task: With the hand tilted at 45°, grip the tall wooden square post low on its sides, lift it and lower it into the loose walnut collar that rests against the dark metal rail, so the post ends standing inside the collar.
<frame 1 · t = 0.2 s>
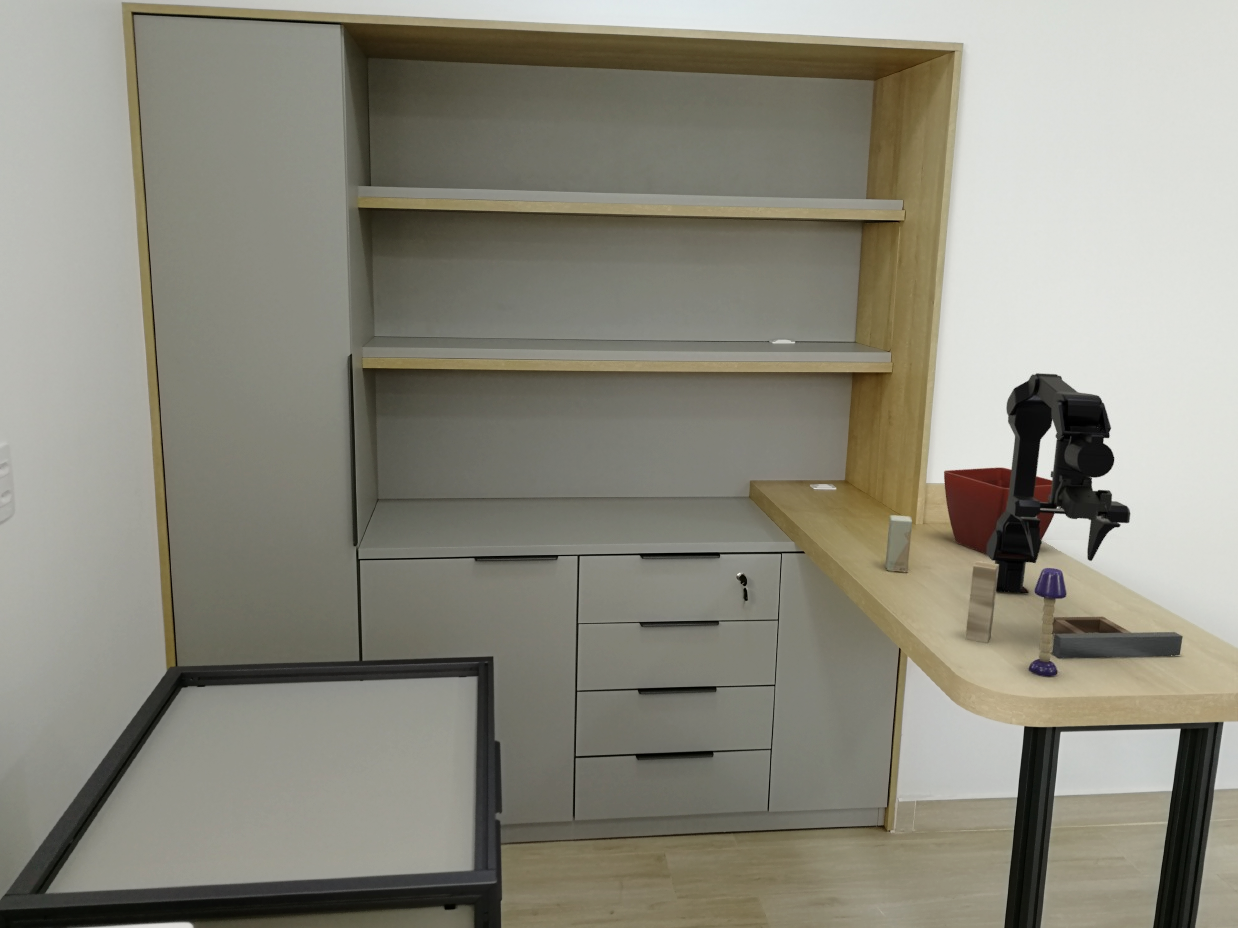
hand: (1061, 558, 176), 14 cm above the table, tool pointing down, fingers open, 9 cm apart
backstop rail: (1115, 654, 172), on the table
wooden square post: (978, 637, 177), on the table
toy lamp: (1041, 671, 163), on the table
plant pot: (995, 549, 237), on the table
box: (896, 569, 217), on the table
collar: (1092, 640, 178), on the table
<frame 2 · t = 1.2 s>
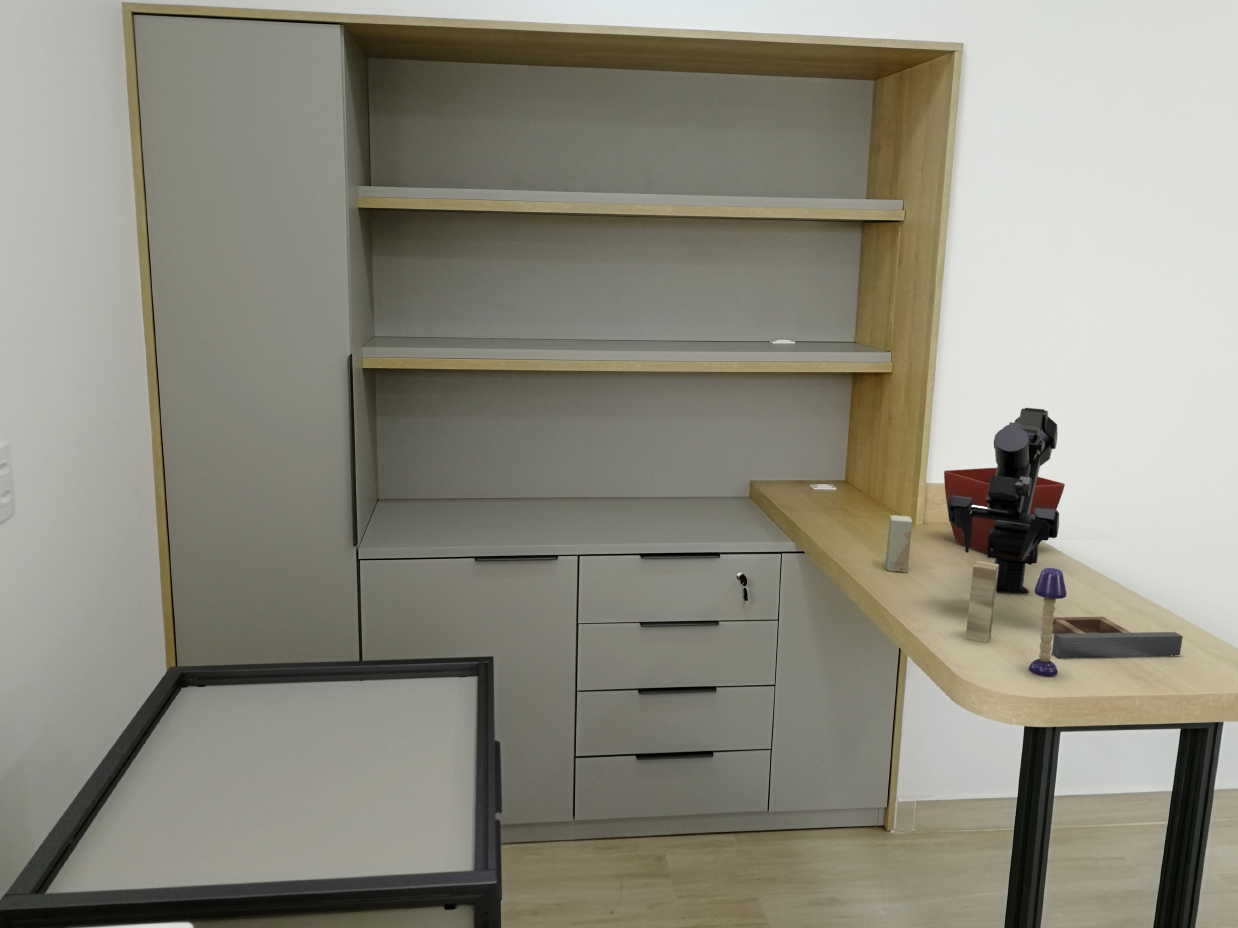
hand: (993, 555, 182), 13 cm above the table, tool tilted 45°, fingers open, 9 cm apart
nothing on the table moved.
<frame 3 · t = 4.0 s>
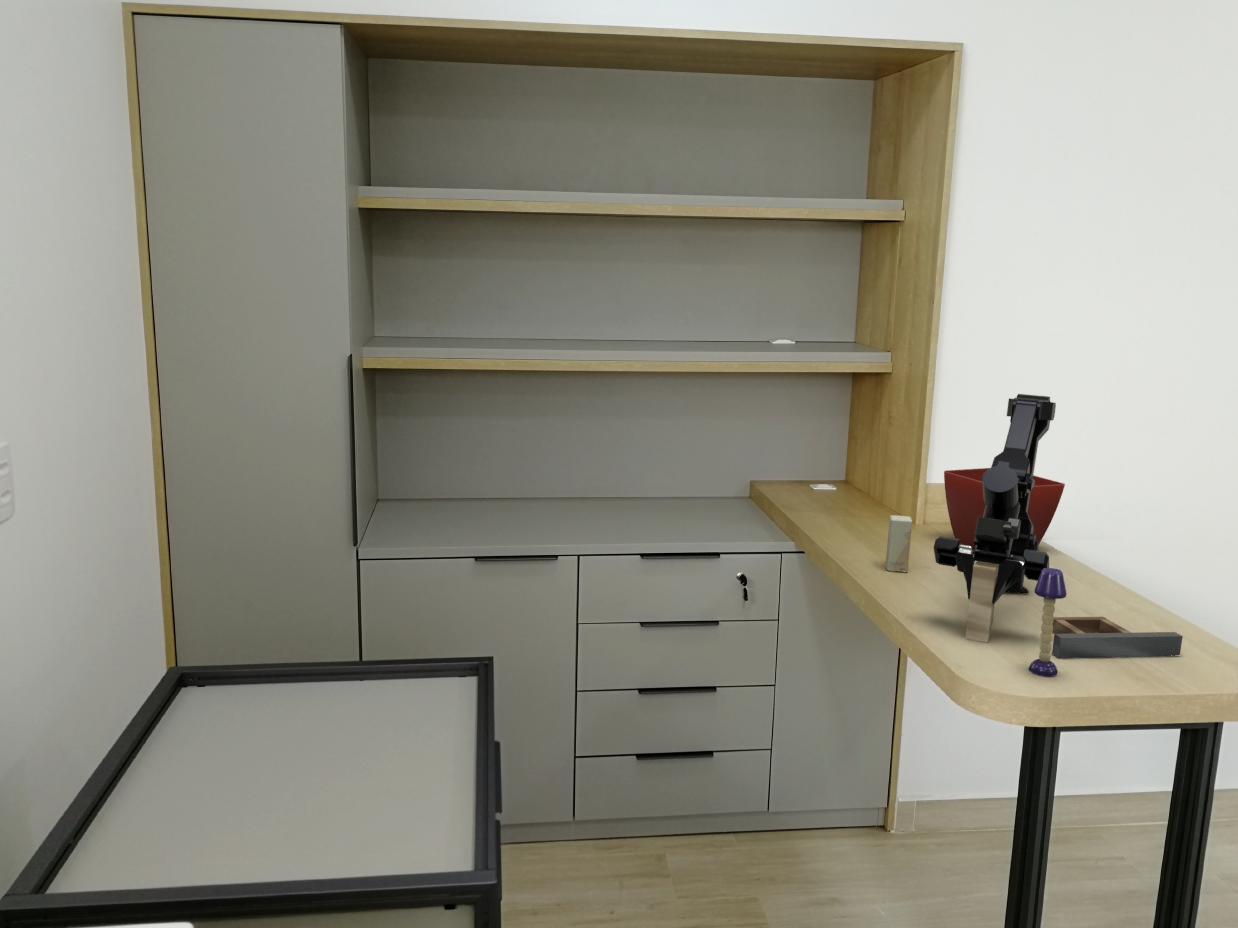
hand: (981, 600, 175), 7 cm above the table, tool tilted 45°, fingers closed on wooden square post, 4 cm apart
wooden square post: (978, 637, 177), on the table, touching gripper
everything else where it was.
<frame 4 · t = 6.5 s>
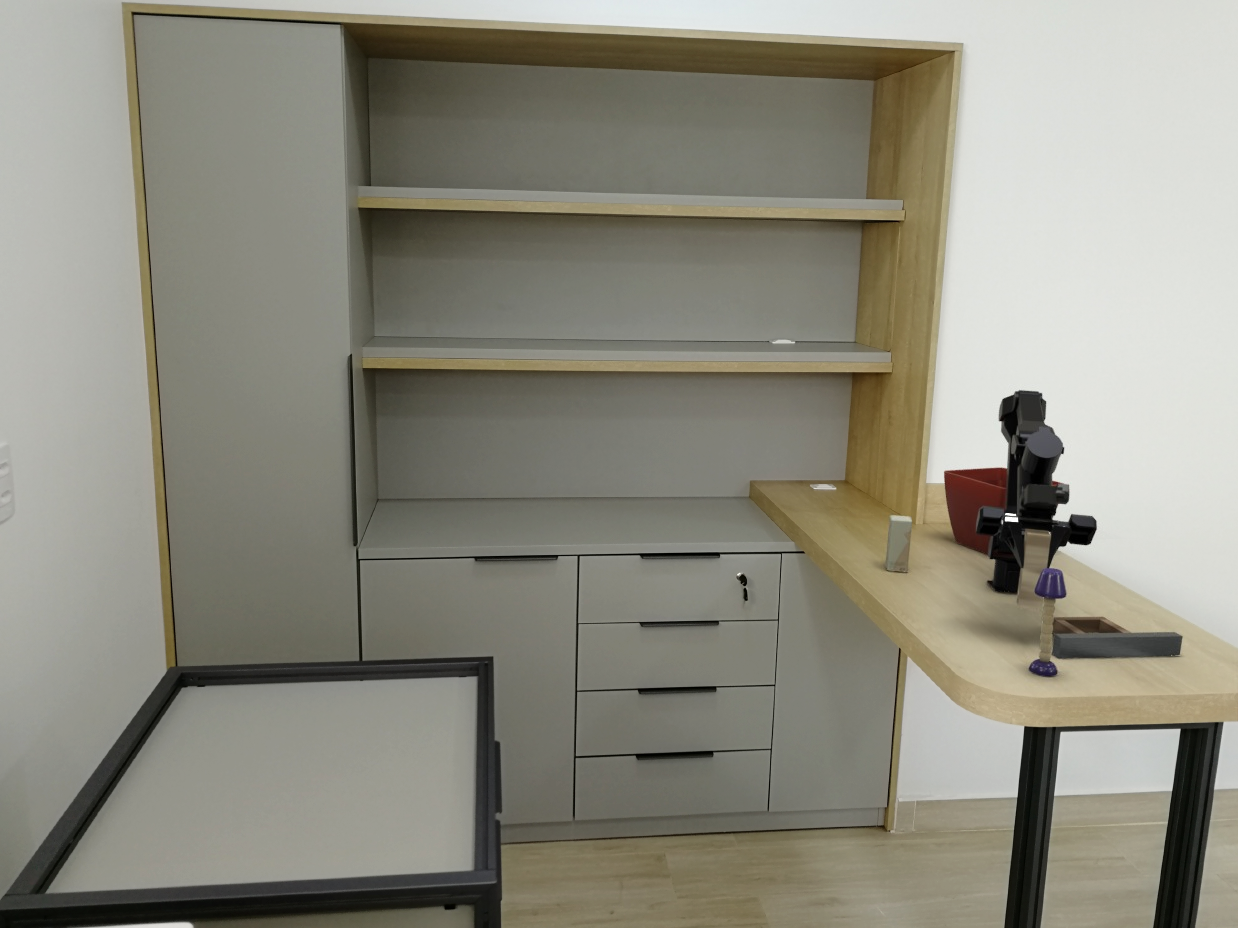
hand: (1034, 568, 172), 13 cm above the table, tool tilted 45°, fingers closed on wooden square post, 4 cm apart
wooden square post: (1028, 606, 175), point 6 cm above the table, touching gripper
everything else where it was.
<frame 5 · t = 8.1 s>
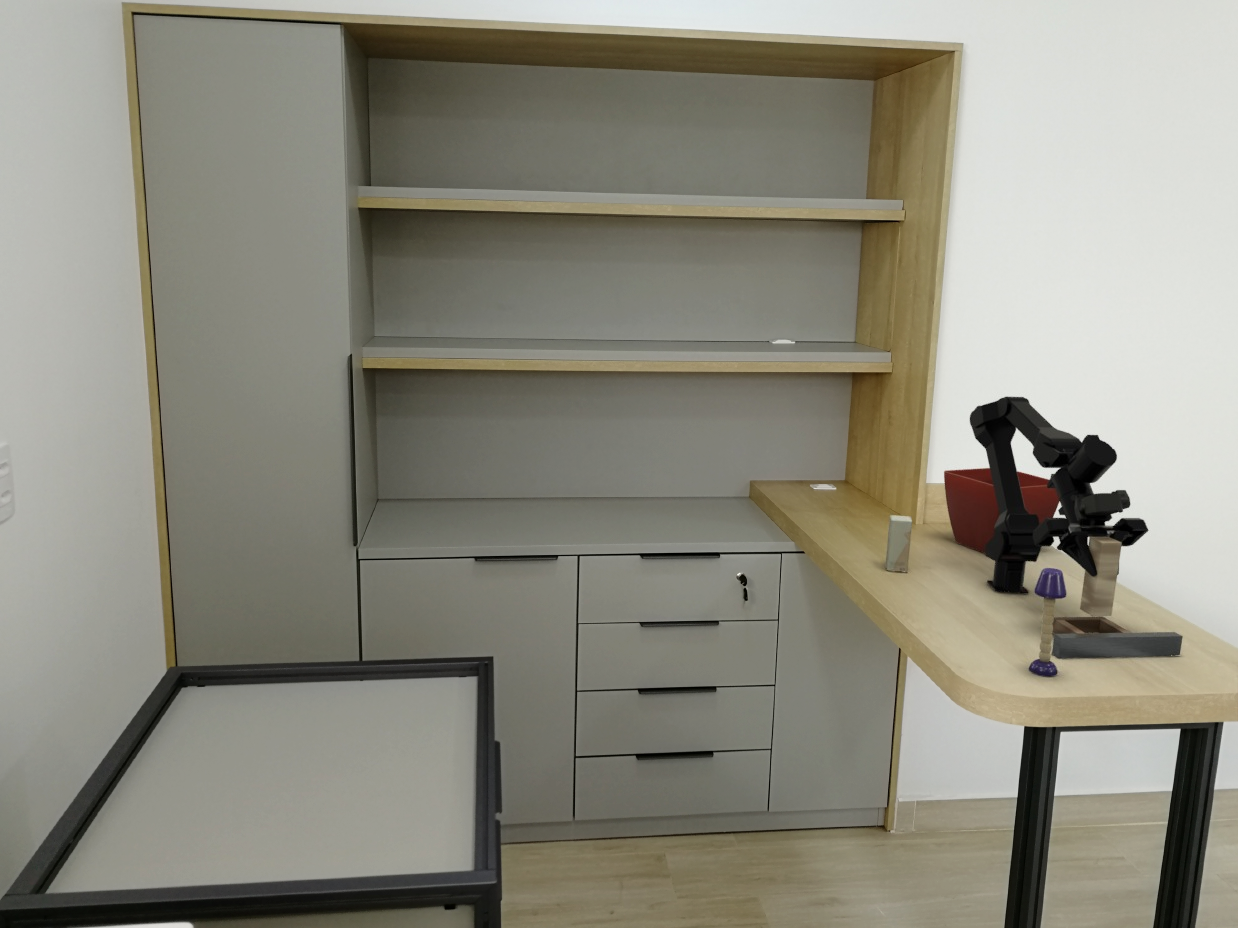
hand: (1105, 575, 175), 12 cm above the table, tool tilted 45°, fingers closed on wooden square post, 4 cm apart
wooden square post: (1095, 612, 177), point 5 cm above the table, touching gripper
everything else where it was.
when the fingers open (8 cm above the table, at t = 9.2 s): wooden square post stays where it is, resting in collar.
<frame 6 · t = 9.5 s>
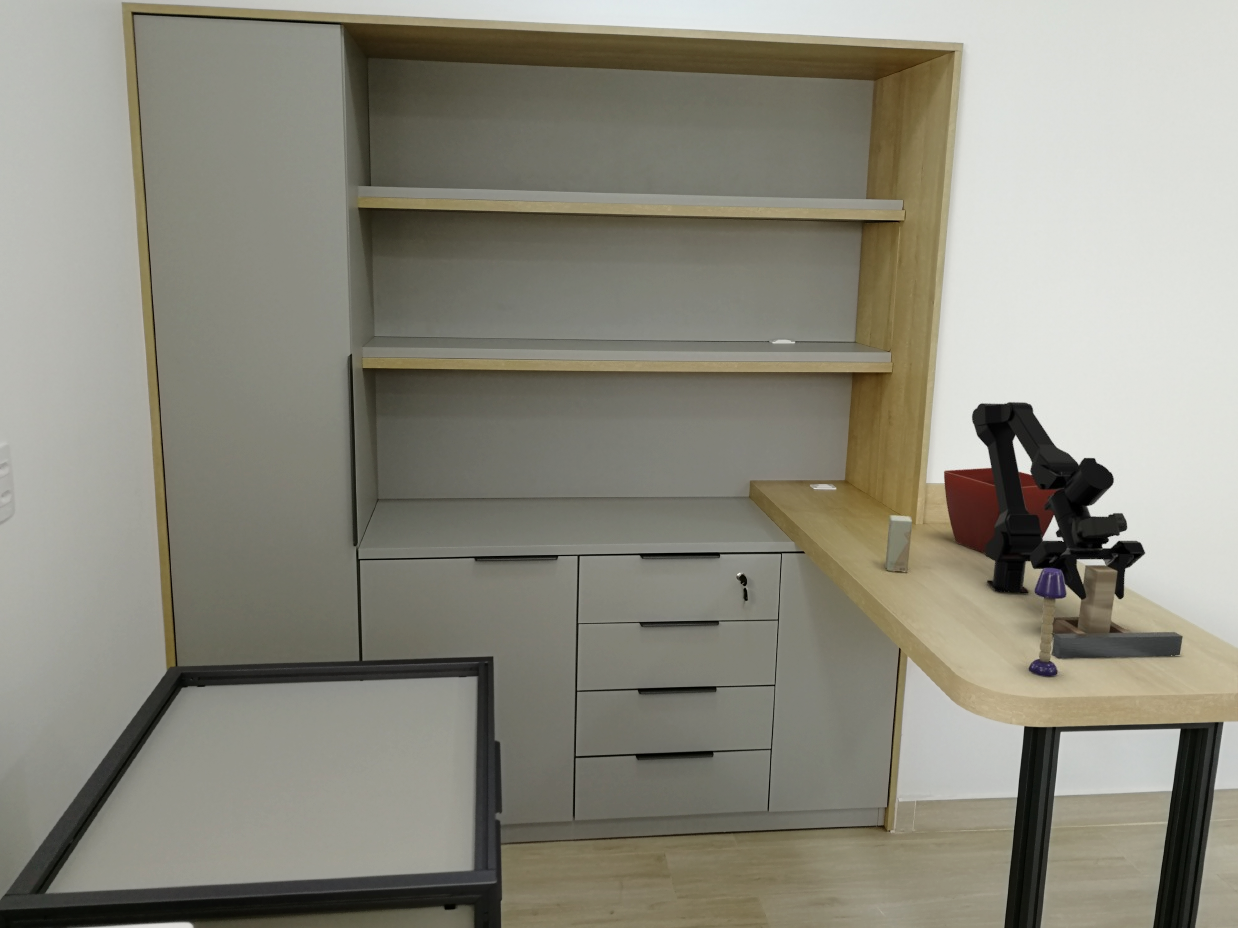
hand: (1102, 598, 175), 8 cm above the table, tool tilted 45°, fingers open, 7 cm apart
wooden square post: (1092, 640, 178), resting in collar
everything else where it was.
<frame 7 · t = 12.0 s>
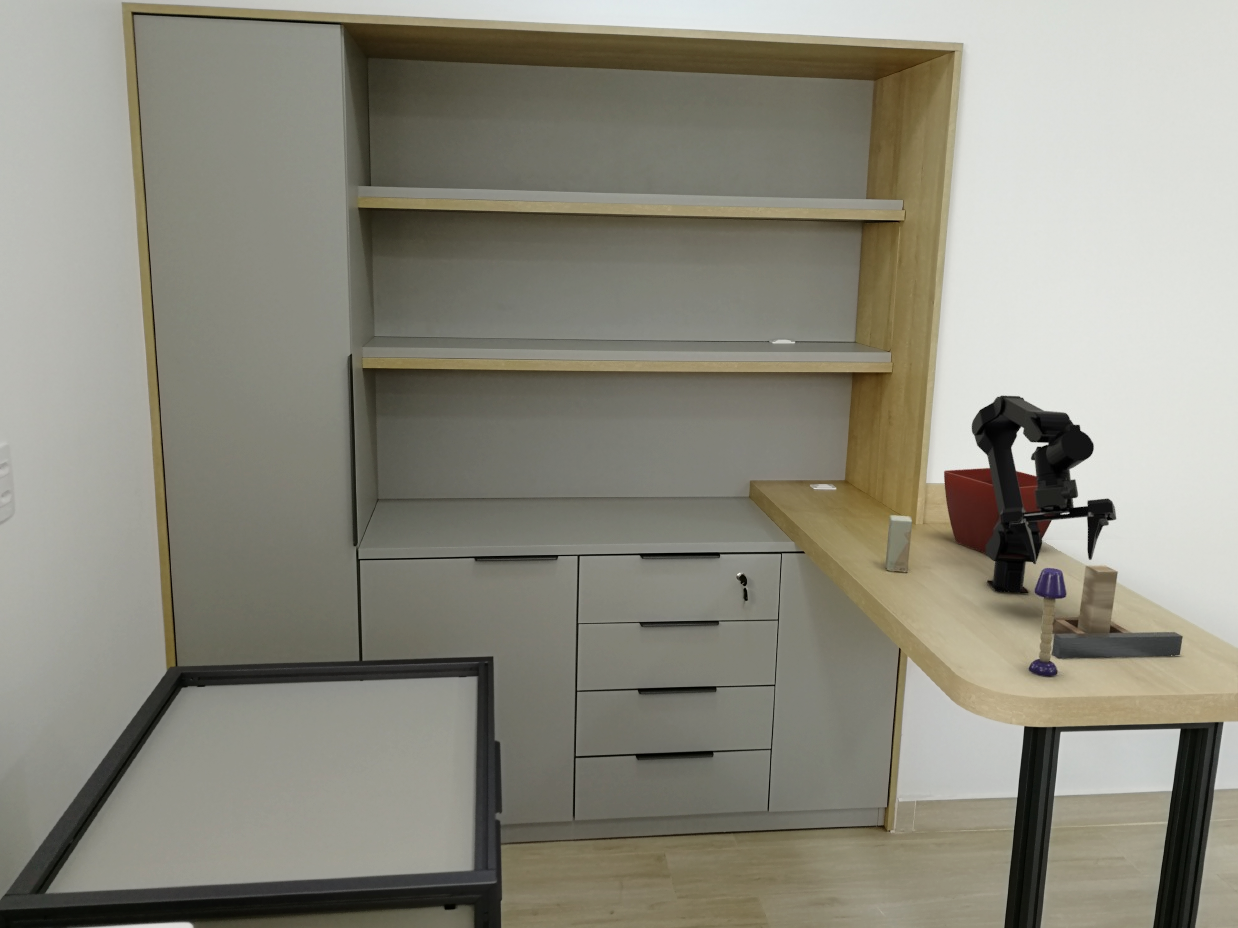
hand: (1062, 561, 183), 12 cm above the table, tool tilted 30°, fingers open, 9 cm apart
nothing on the table moved.
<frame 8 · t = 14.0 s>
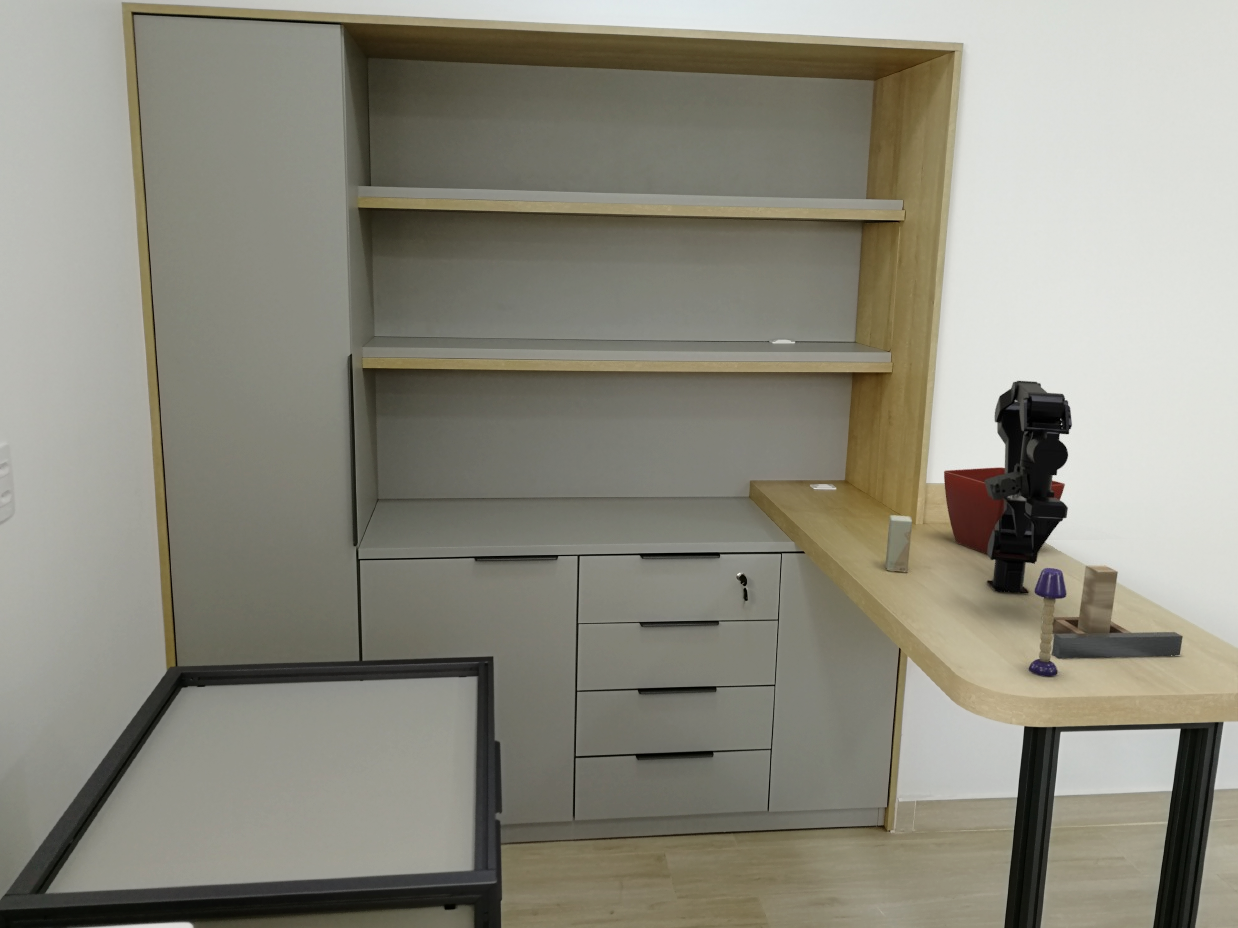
hand: (1027, 544, 190), 13 cm above the table, tool pointing down, fingers open, 9 cm apart
nothing on the table moved.
at the end: wooden square post 0.1 cm off-centre on the collar, point 0.0 cm above the collar's base; wooden square post tilted 0°; collar moved 0.0 cm from its start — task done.
